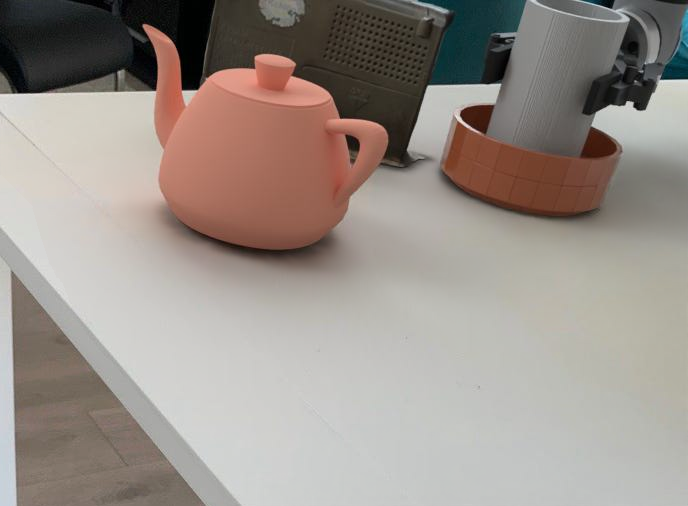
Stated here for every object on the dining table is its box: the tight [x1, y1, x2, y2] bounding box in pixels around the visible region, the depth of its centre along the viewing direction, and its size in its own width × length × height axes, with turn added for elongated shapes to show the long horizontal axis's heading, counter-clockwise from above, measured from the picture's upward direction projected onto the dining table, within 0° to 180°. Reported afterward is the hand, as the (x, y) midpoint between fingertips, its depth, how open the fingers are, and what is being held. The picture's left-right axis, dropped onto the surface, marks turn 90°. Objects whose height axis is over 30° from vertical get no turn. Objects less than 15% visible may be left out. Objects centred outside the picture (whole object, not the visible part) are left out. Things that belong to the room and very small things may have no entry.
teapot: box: [142, 23, 388, 251], centre depth 80 cm, size 22×15×12 cm
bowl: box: [439, 102, 624, 217], centre depth 99 cm, size 16×16×6 cm
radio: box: [199, 0, 456, 168], centre depth 99 cm, size 23×9×15 cm, turn 70°
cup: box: [486, 0, 630, 158], centre depth 95 cm, size 9×9×12 cm
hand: (539, 82), depth 92 cm, fingers closed on cup, 9 cm apart
